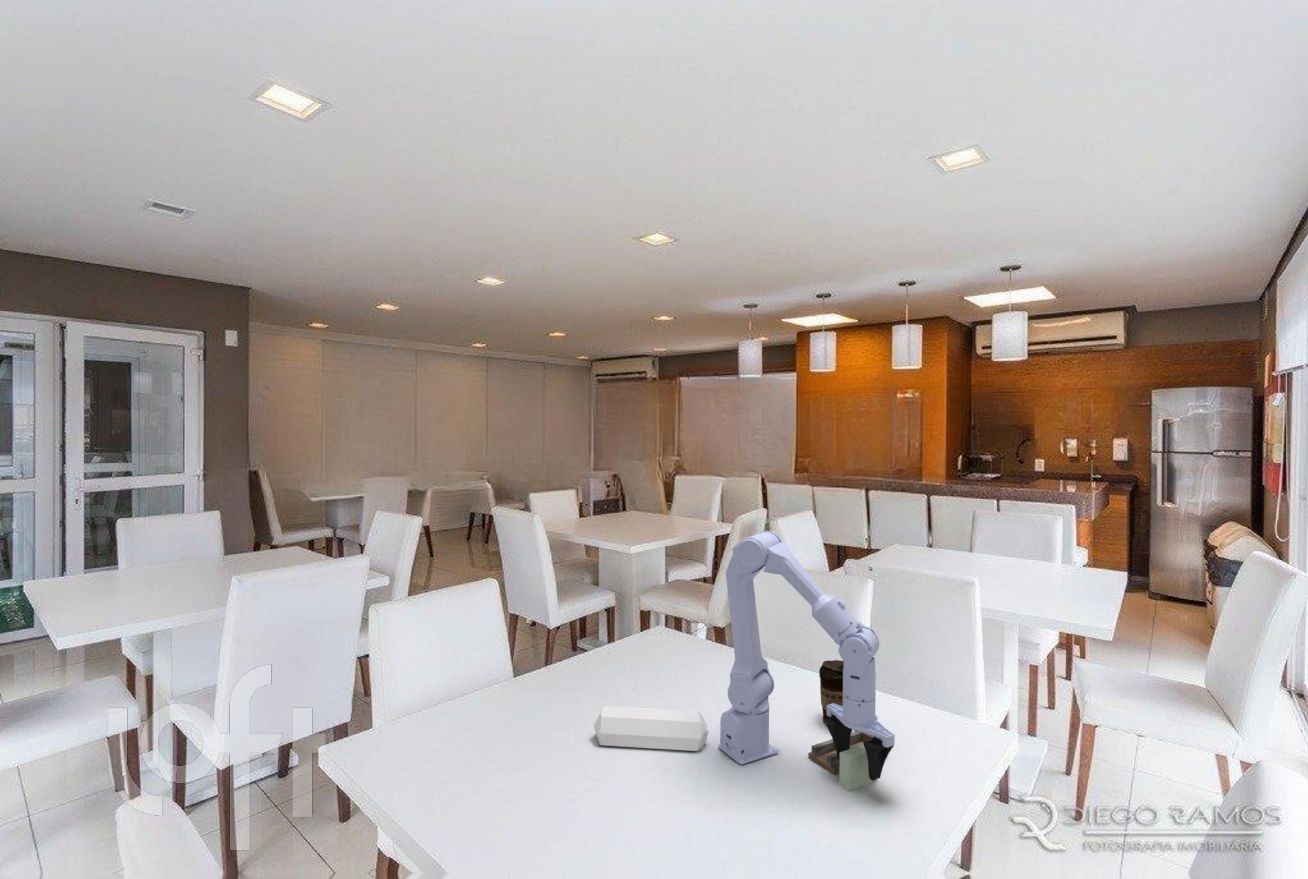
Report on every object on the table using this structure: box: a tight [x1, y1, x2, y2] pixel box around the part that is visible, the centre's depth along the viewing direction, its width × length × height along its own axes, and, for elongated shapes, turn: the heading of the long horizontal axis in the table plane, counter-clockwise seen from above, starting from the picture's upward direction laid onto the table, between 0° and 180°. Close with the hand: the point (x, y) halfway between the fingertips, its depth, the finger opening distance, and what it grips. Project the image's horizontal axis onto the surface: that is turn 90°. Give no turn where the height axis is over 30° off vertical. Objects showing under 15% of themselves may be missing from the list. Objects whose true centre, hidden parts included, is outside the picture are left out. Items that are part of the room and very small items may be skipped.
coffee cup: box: [818, 659, 844, 724], centre depth 142 cm, size 9×8×13 cm
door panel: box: [838, 744, 878, 792], centre depth 119 cm, size 7×2×6 cm, turn 119°
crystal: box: [593, 705, 709, 752], centre depth 133 cm, size 7×7×24 cm
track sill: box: [807, 730, 872, 776], centre depth 128 cm, size 14×7×4 cm, turn 119°
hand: (858, 768), depth 119 cm, fingers open, 7 cm apart
